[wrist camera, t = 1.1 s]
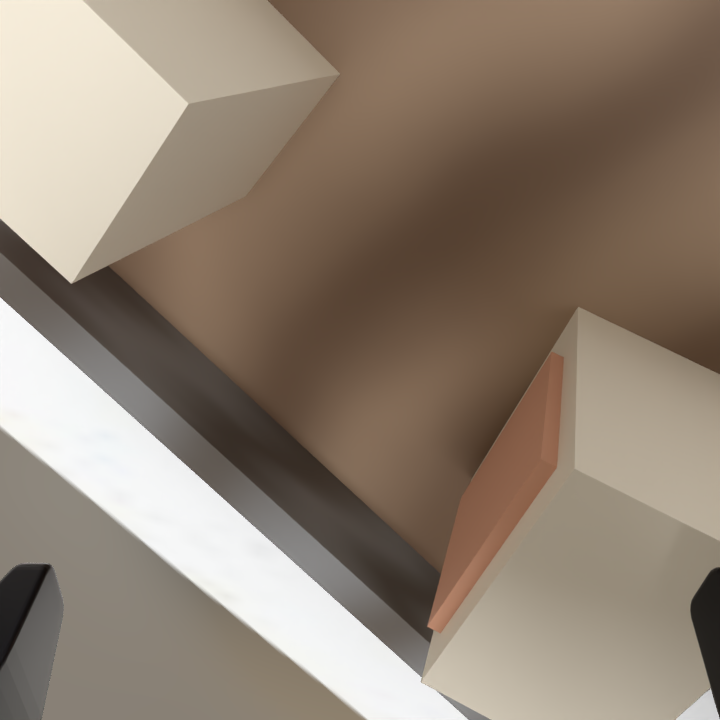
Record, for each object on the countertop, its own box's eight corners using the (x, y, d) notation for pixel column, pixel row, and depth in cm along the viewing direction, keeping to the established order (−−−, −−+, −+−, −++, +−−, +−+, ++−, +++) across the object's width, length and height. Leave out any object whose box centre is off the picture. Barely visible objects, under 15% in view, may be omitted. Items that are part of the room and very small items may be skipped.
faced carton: (146, -123, 15) (-145, -222, 9) (340, 73, 16) (188, 103, 10) (66, 37, 17) (-212, 42, 11) (239, 204, 18) (64, 294, 12)
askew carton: (731, 380, 16) (819, 590, 10) (599, 544, 19) (605, 780, 13) (567, 301, 16) (556, 459, 10) (462, 474, 19) (407, 675, 13)
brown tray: (1066, 335, 15) (1214, 430, 12) (498, 633, 24) (484, 739, 20) (357, -464, 13) (271, -649, 9) (15, 185, 21) (-97, 217, 18)
